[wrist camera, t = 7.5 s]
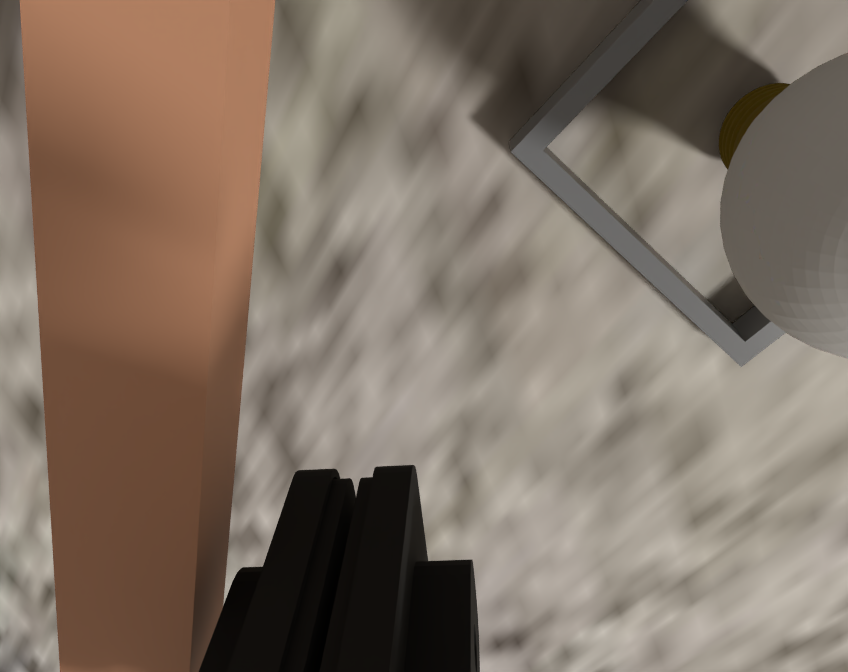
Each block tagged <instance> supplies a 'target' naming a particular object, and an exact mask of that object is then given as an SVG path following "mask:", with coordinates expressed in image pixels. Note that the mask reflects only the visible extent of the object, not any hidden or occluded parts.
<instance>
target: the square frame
mask: <svg viewBox="0 0 848 672" xmlns="http://www.w3.org/2000/svg"><path fill="white" fill-rule="evenodd" d="M687 1H688V0H641V1H640V2H639V3H638V4H637V5H636V6H635V7H634V8H633V9H632V11H631V12H630V13H629V14H628V15H627V16H626V17H625V18H624V19H623V20H622V21H621V22H620V23H619V24H618V25H617V27H616V28H615V29H614V30H613V31H612V32H611V33H610V34H609V35H608V36H607V37H606V38H605V39H604V40H603V42H602V43H601V44H600V45H599V46H598V47H597V48H596V49H595V50H594V51H593V52H592V53H591V54H590V55H589V56H588V58H587V59H586V60H585V61H584V62H583V63H582V64H581V65H580V66H579V67H578V68H577V69H576V70H575V71H574V72H573V74H572V75H571V76H570V77H569V78H568V79H567V80H566V81H565V82H564V83H563V84H562V85H561V86H560V87H559V89H558V90H557V91H556V92H555V93H554V94H553V95H552V96H551V97H550V98H549V99H548V100H547V101H546V102H545V103H544V105H543V106H542V107H541V108H540V109H539V110H538V111H537V112H536V113H535V114H534V115H533V116H532V117H531V118H530V119H529V121H528V122H527V123H526V124H525V125H524V126H523V127H522V128H521V129H520V130H519V131H518V132H517V133H516V134H515V136H514V137H513V138H512V139H511V140H510V141H509V146H510V150H511V153H512V154H514V155H515V156H516V157H517V158H518V159H519V160H520V161H521V162H522V163H523V164H524V165H525V166H526V167H527V168H529V169H530V170H531V171H532V172H533V173H534V174H535V175H536V176H537V177H538V178H539V179H540V180H541V181H542V182H544V183H545V184H546V185H547V186H548V187H549V188H550V189H551V190H552V191H553V192H554V193H555V194H556V195H557V196H559V197H560V198H561V199H562V200H563V201H564V202H565V203H566V204H567V205H568V206H569V207H570V208H571V209H572V210H574V211H575V212H576V213H577V214H578V215H579V216H580V217H581V218H582V219H583V220H584V221H585V222H586V223H588V224H589V225H590V226H591V227H592V228H593V229H594V230H595V231H596V232H597V233H598V234H599V235H600V236H601V237H603V238H604V239H605V240H606V241H607V242H608V243H609V244H610V245H611V246H612V247H613V248H614V249H615V250H616V251H618V252H619V253H620V254H621V255H622V256H623V257H624V258H625V259H626V260H627V261H628V262H629V263H630V264H631V265H633V266H634V267H635V268H636V269H637V270H638V271H639V272H640V273H641V274H642V275H643V276H644V277H645V278H646V279H648V280H649V281H650V282H651V283H652V284H653V285H654V286H655V287H656V288H657V289H658V290H659V291H660V292H661V293H663V294H664V295H665V296H666V297H667V298H668V299H669V300H670V301H671V302H672V303H673V304H674V305H675V306H676V307H678V308H679V309H680V310H681V311H682V312H683V313H684V314H685V315H686V316H687V317H688V318H689V319H690V320H691V321H693V322H694V323H695V324H696V325H697V326H698V327H699V328H700V329H701V330H702V331H703V332H704V333H705V334H706V335H708V336H709V337H710V338H711V339H712V340H713V341H714V342H715V343H716V344H717V345H718V346H719V347H720V348H721V349H723V350H724V351H725V352H726V353H727V354H728V355H729V356H730V357H731V358H732V359H733V360H734V361H735V362H736V363H738V364H739V365H740V366H741V367H742V366H743V365H745V364H746V363H747V362H748V361H750V360H751V359H752V358H754V357H755V356H756V355H757V354H759V353H760V352H761V351H763V350H764V349H765V348H766V347H768V346H769V345H770V344H772V343H773V342H774V341H775V340H777V339H778V338H779V337H781V336H782V335H783V334H784V333H786V332H784V331H783V330H782V329H780V328H779V327H778V326H777V325H775V324H774V323H773V322H771V321H770V320H769V319H767V318H766V317H765V316H764V315H763V314H762V313H761V312H760V311H759V309H758V308H757V307H756V306H754V307H752V308H751V309H750V310H749V311H748V312H746V313H745V314H744V315H743V316H741V317H740V318H739V319H738V320H736V321H735V322H734V323H733V324H732V323H731V322H730V321H729V320H728V319H727V318H725V317H724V316H723V315H722V314H721V313H720V312H719V311H718V310H717V309H716V308H715V307H714V306H713V305H712V304H711V303H710V302H709V301H708V300H707V299H706V298H704V297H703V296H702V295H701V294H700V293H699V292H698V291H697V290H696V289H695V288H694V287H693V286H692V285H691V284H690V283H689V282H688V281H687V280H686V279H685V278H683V277H682V276H681V275H680V274H679V273H678V272H677V271H676V270H675V269H674V268H673V267H672V266H671V265H670V264H669V263H668V262H667V261H666V260H665V259H664V258H662V257H661V256H660V255H659V254H658V253H657V252H656V251H655V250H654V249H653V248H652V247H651V246H650V245H649V244H648V243H647V242H646V241H645V240H644V239H643V238H641V237H640V236H639V235H638V234H637V233H636V232H635V231H634V230H633V229H632V228H631V227H630V226H629V225H628V224H627V223H626V222H625V221H624V220H623V219H622V218H620V217H619V216H618V215H617V214H616V213H615V212H614V211H613V210H612V209H611V208H610V207H609V206H608V205H607V204H606V203H605V202H604V201H603V200H602V199H601V198H599V197H598V196H597V195H596V194H595V193H594V192H593V191H592V190H591V189H590V188H589V187H588V186H587V185H586V184H585V183H584V182H583V181H582V180H581V179H580V178H579V177H577V176H576V175H575V174H574V173H573V172H572V171H571V170H570V169H569V168H568V167H567V166H566V165H565V164H564V163H563V162H562V161H561V160H560V159H559V158H558V157H556V156H555V155H554V154H553V153H552V152H551V151H550V150H549V149H548V148H547V146H548V145H549V144H550V143H551V142H552V141H553V140H554V139H555V138H556V137H557V135H558V134H559V133H560V132H561V131H562V130H563V129H564V128H565V127H566V126H567V125H568V124H569V123H570V122H571V121H572V120H573V119H574V118H575V117H576V116H577V115H578V114H579V113H580V112H581V111H582V110H583V109H584V108H585V106H586V105H587V104H588V103H589V102H590V101H591V100H592V99H593V98H594V97H595V96H596V95H597V94H598V93H599V92H600V91H601V90H602V89H603V88H604V87H605V86H606V85H607V84H608V83H609V82H610V81H611V80H612V78H613V77H614V76H615V75H616V74H617V73H618V72H619V71H620V70H621V69H622V68H623V67H624V66H625V65H626V64H627V63H628V62H629V61H630V60H631V59H632V58H633V57H634V56H635V55H636V54H637V53H638V52H639V51H640V49H641V48H642V47H643V46H644V45H645V44H646V43H647V42H648V41H649V40H650V39H651V38H652V37H653V36H654V35H655V34H656V33H657V32H658V31H659V30H660V29H661V28H662V27H663V26H664V25H665V24H666V23H667V21H668V20H669V19H670V18H671V17H672V16H673V15H674V14H675V13H676V12H677V11H678V10H679V9H680V8H681V7H682V6H683V5H684V4H685V3H686V2H687Z"/></svg>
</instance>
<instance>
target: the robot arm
mask: <svg viewBox="0 0 848 672" xmlns="http://www.w3.org/2000/svg"><path fill="white" fill-rule="evenodd" d="M199 672H480V661H479V631H478V613H477V600H476V589H475V578H474V568H473V561H472V560H449V561H428V556H427V549H426V541H425V533H424V526H423V518H422V510H421V503H420V495H419V487H418V480H417V473H416V468H415V466H414V465H404V466H382V467H376V468H375V469H374V473H373V477H369V478H361V479H360V482H359V486H358V491H357V496H355V490H354V485H353V482H352V479H350V478H348V479H340V476H339V473H338V471H337V470H336V469H318V470H298V471H297V472H295V475H294V477H293V479H292V482H291V485H290V488H289V491H288V494H287V497H286V500H285V503H284V506H283V509H282V512H281V515H280V518H279V521H278V524H277V527H276V530H275V533H274V536H273V539H272V541H271V544H270V547H269V550H268V553H267V556H266V559H265V562H264V565H263V567H243V568H241V569H240V570H239V571H238V572H237V574H236V576H235V578H234V580H233V582H232V585H231V587H230V590H229V593H228V595H227V598H226V601H225V603H224V606H223V609H222V611H221V614H220V616H219V619H218V622H217V624H216V627H215V630H214V632H213V635H212V638H211V640H210V643H209V646H208V648H207V651H206V653H205V656H204V659H203V661H202V664H201V667H200V669H199Z"/></svg>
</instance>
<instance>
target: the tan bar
mask: <svg viewBox="0 0 848 672" xmlns="http://www.w3.org/2000/svg"><path fill="white" fill-rule="evenodd" d="M274 8H275V0H20V12H21V29H22V46H23V62H24V79H25V95H26V112H27V129H28V145H29V162H30V179H31V195H32V212H33V229H34V245H35V262H36V278H37V295H38V312H39V328H40V345H41V362H42V378H43V395H44V411H45V428H46V445H47V461H48V478H49V495H50V511H51V528H52V545H53V561H54V578H55V594H56V611H57V628H58V644H59V661H60V672H199V669H200V667H201V664H202V661H203V659H204V656H205V653H206V651H207V648H208V646H209V643H210V640H211V638H212V635H213V632H214V630H215V627H216V624H217V622H218V619H219V616H220V614H221V611H222V609H223V600H224V588H225V577H226V565H227V553H228V542H229V530H230V519H231V507H232V495H233V484H234V472H235V461H236V449H237V437H238V426H239V414H240V403H241V391H242V379H243V368H244V356H245V345H246V333H247V321H248V310H249V298H250V287H251V275H252V263H253V252H254V240H255V229H256V217H257V205H258V194H259V182H260V171H261V159H262V147H263V136H264V124H265V112H266V101H267V89H268V78H269V66H270V54H271V43H272V31H273V20H274Z"/></svg>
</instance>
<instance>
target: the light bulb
mask: <svg viewBox="0 0 848 672" xmlns="http://www.w3.org/2000/svg"><path fill="white" fill-rule="evenodd" d="M719 151H720V156H721V159H722V161H723V163H724V165H725V167H726V168H727V169H728V171H727V174H726V177H725V180H724V186H723V191H722V197H721V208H720V227H721V233H722V239H723V245H724V250H725V253H726V256H727V259H728V261H729V264H730V267H731V270H732V272H733V274H734V276H735V278H736V279H737V281H738V283H739V284H740V286H741V288H742V289H743V291H744V293H745V294H746V296H747V297H748V298H749V299H750V301H751V302H752V303H753V304H754V305H755V306H756V307H757V308H758V309H759V311H760V312H761V313H762V314H763V315H764V316H765V317H766V318H767V319H769V320H770V321H771V322H773V323H774V324H775V325H777V326H778V327H779V328H780V329H782V330H783V331H784V332H786V333H787V334H789V335H790V336H792V337H794V338H796V339H798V340H800V341H802V342H804V343H806V344H808V345H810V346H811V347H814V348H816V349H819V350H822V351H825V352H828V353H831V354H834V355H837V356H841V357H844V358H848V53H846V54H843V55H841V56H839V57H837V58H835V59H832V60H830V61H828V62H826V63H824V64H822V65H820V66H818V67H816V68H815V69H813V70H811V71H810V72H808V73H807V74H805V75H804V76H802V77H801V78H799V79H797V80H796V81H794V82H793V83H792V84H786V83H775V84H769V85H765V86H762V87H759V88H757V89H755V90H753V91H751V92H750V93H748V94H746V95H745V96H744V97H742V98H741V99H740V100H739V101H738V102H737V103H736V104H735V105H734V106H733V107H732V108H731V110H730V111H729V113H728V114H727V116H726V118H725V120H724V122H723V124H722V127H721V130H720V136H719Z"/></svg>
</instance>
